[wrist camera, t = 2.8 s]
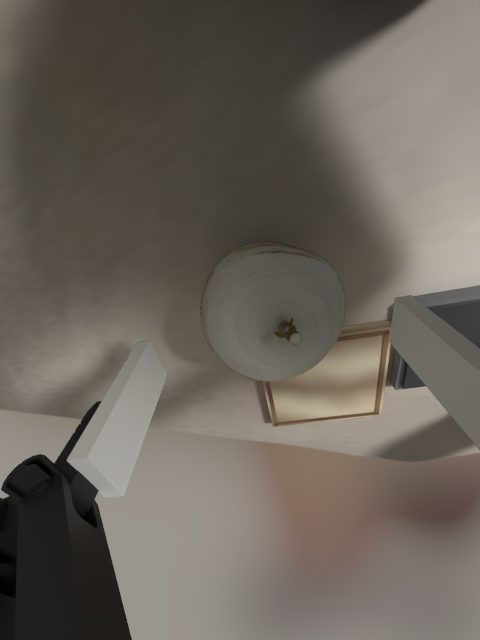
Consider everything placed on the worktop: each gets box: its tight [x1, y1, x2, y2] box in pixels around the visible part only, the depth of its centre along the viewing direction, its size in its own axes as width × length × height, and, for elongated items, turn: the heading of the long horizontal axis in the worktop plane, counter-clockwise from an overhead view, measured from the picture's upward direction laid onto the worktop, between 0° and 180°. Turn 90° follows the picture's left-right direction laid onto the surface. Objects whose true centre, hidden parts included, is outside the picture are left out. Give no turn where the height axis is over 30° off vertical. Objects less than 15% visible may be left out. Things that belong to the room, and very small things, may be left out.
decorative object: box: [200, 242, 345, 381], centre depth 16 cm, size 9×9×10 cm
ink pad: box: [390, 286, 480, 390], centre depth 22 cm, size 10×8×2 cm
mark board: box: [262, 320, 391, 427], centre depth 25 cm, size 12×12×1 cm
